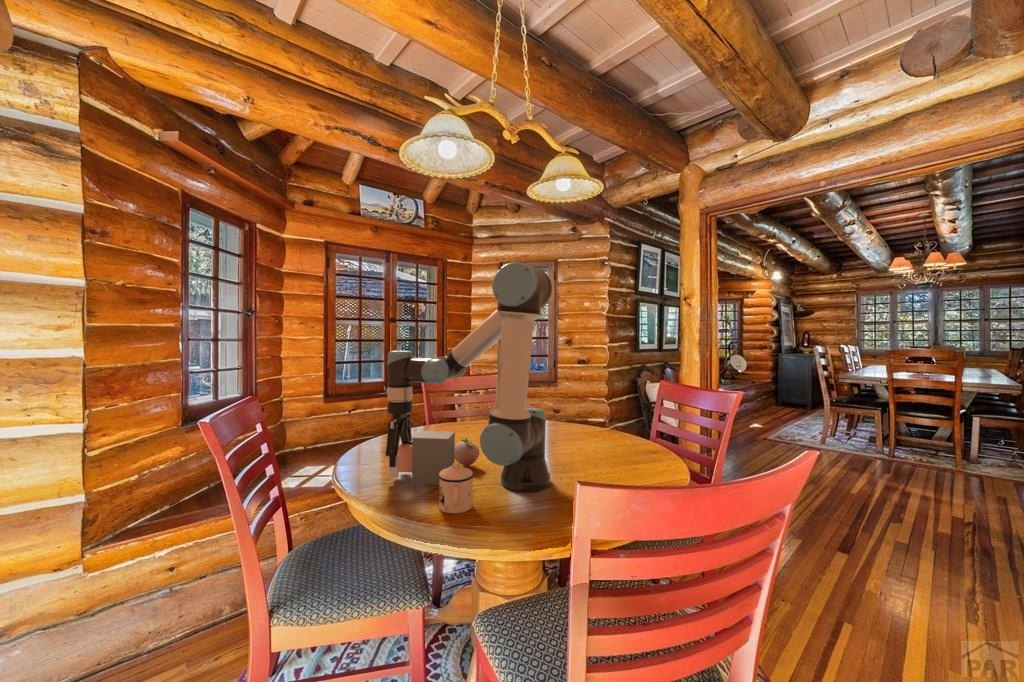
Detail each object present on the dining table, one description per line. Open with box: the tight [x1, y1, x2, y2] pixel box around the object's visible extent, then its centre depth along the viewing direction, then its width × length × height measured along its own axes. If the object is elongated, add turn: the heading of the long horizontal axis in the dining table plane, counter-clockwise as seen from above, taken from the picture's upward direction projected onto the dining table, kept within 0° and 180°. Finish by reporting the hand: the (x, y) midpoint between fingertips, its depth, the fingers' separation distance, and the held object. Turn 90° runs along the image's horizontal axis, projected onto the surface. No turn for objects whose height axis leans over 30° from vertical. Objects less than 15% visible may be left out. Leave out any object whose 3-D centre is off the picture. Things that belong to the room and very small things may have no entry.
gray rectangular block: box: [411, 430, 456, 486], centre depth 129 cm, size 11×9×14 cm
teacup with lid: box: [438, 461, 474, 514], centre depth 108 cm, size 12×9×12 cm
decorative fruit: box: [454, 437, 480, 468], centre depth 141 cm, size 9×8×10 cm
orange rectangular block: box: [397, 443, 412, 474], centre depth 129 cm, size 16×2×8 cm, turn 86°
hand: (399, 471), depth 130 cm, fingers open, 10 cm apart
